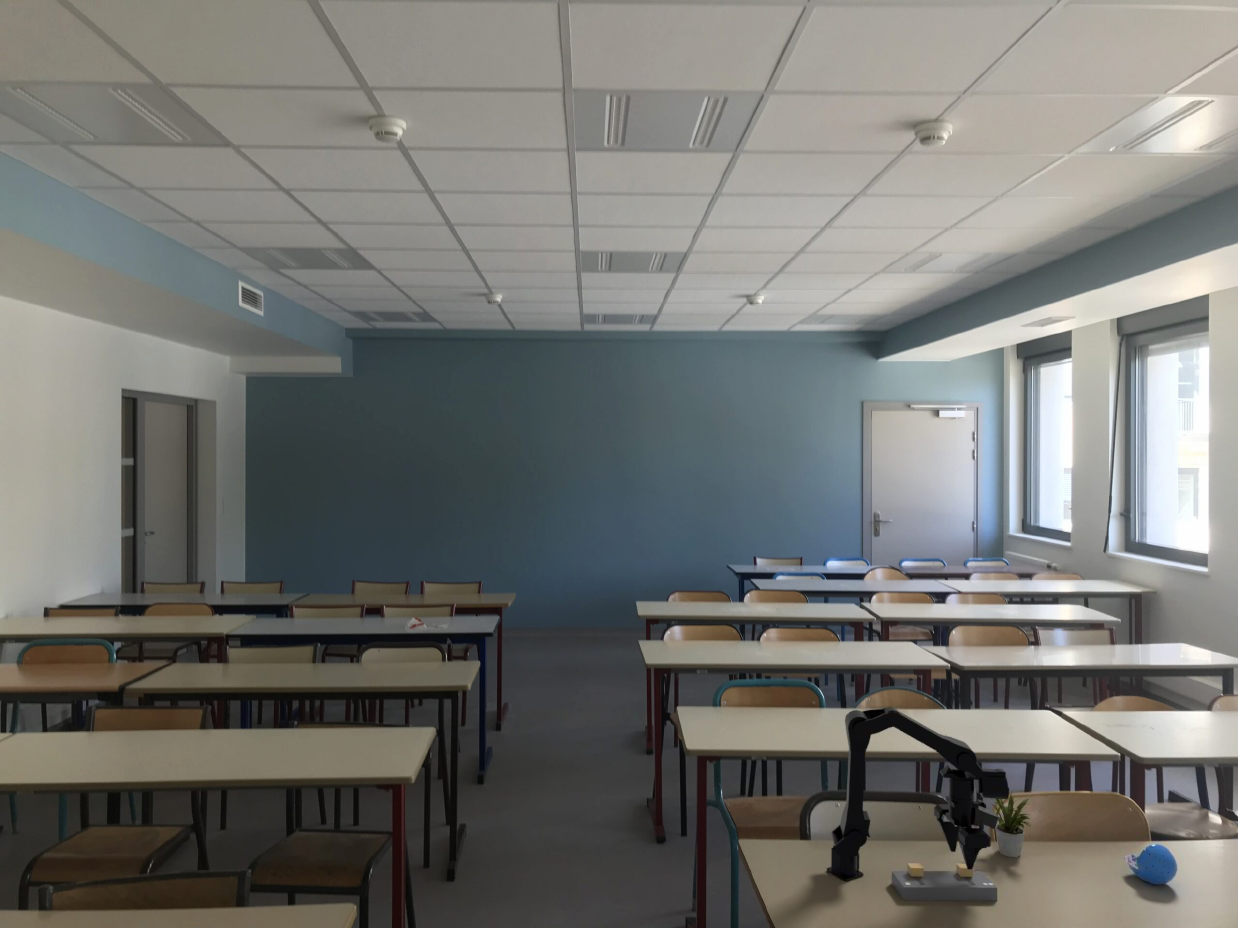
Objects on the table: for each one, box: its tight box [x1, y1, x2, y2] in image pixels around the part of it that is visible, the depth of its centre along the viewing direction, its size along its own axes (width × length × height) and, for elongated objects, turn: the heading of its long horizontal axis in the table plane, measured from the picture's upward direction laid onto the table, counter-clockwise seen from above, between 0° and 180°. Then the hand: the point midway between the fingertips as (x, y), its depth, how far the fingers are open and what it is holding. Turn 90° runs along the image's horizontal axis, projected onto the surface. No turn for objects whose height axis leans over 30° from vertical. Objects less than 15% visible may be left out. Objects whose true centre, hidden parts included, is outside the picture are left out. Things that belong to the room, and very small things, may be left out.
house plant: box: [990, 790, 1033, 858], centre depth 214 cm, size 14×14×16 cm
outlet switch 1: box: [906, 862, 924, 877], centre depth 195 cm, size 3×2×2 cm
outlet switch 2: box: [955, 863, 974, 877], centre depth 195 cm, size 3×2×2 cm
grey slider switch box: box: [891, 870, 998, 902], centre depth 193 cm, size 22×8×3 cm, turn 91°
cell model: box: [1123, 843, 1178, 885], centre depth 200 cm, size 10×12×10 cm
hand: (961, 859), depth 197 cm, fingers open, 9 cm apart
